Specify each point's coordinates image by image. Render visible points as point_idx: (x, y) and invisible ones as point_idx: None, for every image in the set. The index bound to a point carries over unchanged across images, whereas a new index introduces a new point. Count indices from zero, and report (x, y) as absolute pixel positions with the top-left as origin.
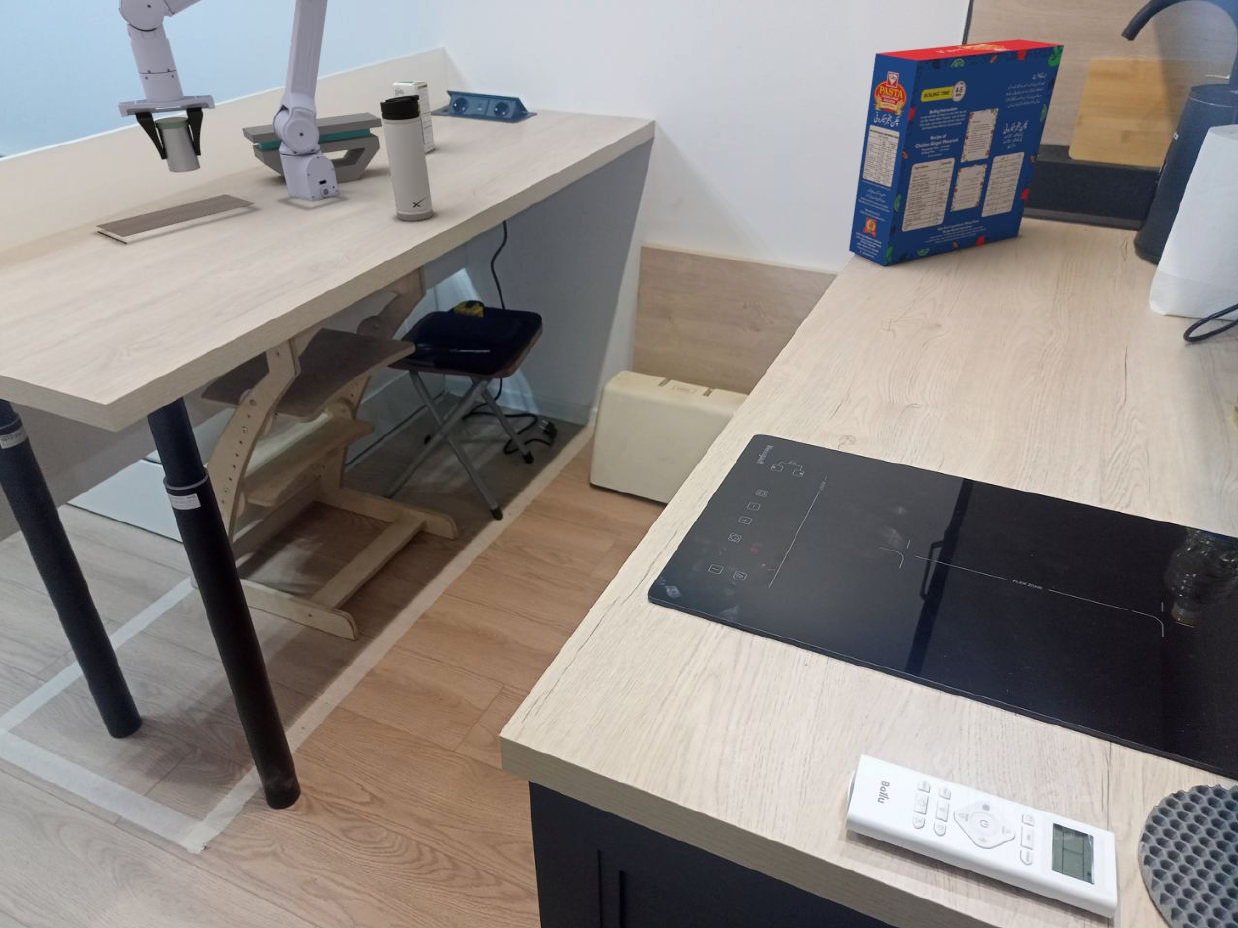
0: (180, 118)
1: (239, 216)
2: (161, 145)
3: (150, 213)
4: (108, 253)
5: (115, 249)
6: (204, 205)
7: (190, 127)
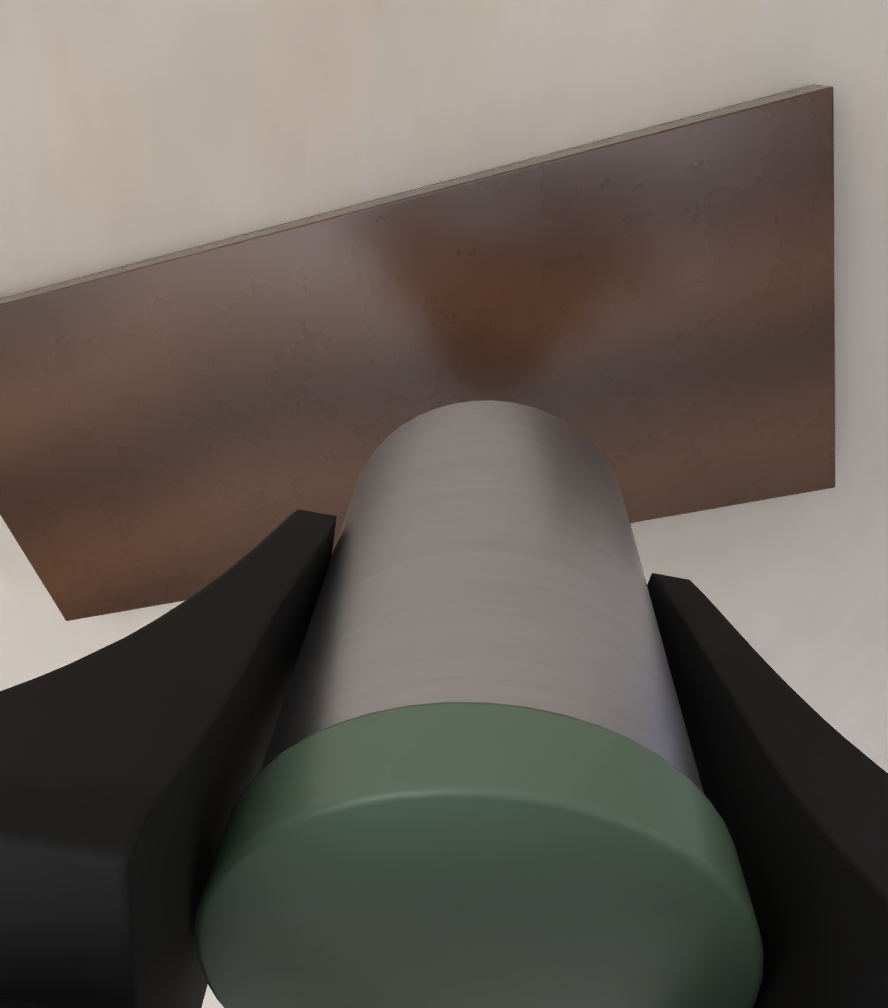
0: (642, 983)
1: (679, 521)
2: (293, 666)
3: (210, 276)
4: (23, 666)
5: (46, 636)
6: (565, 324)
7: (746, 798)
